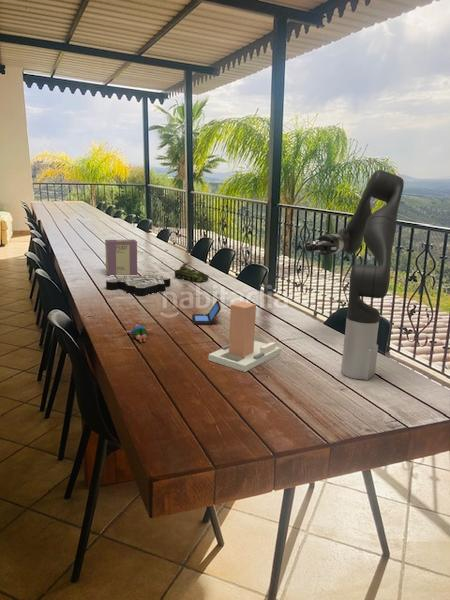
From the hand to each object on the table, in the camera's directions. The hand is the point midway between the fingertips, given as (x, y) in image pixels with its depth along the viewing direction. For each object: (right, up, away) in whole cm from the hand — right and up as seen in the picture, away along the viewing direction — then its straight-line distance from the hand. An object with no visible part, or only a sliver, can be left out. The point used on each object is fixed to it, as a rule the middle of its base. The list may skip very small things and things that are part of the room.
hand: (308, 248), depth 157 cm
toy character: (-59, -31, +9) cm, 67 cm away
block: (-23, -34, -9) cm, 42 cm away
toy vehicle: (-47, -6, +109) cm, 119 cm away
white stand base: (-22, -36, -7) cm, 42 cm away
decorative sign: (-71, -12, +84) cm, 110 cm away
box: (-89, -3, +115) cm, 146 cm away
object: (-36, -26, +31) cm, 54 cm away
